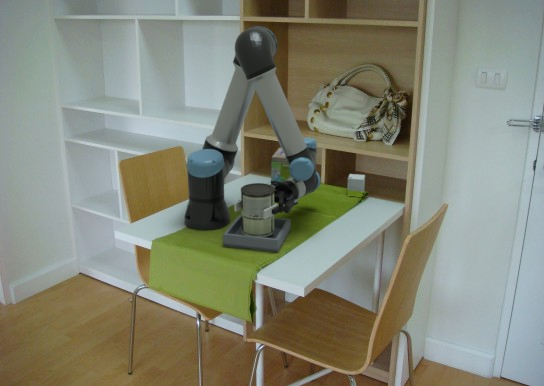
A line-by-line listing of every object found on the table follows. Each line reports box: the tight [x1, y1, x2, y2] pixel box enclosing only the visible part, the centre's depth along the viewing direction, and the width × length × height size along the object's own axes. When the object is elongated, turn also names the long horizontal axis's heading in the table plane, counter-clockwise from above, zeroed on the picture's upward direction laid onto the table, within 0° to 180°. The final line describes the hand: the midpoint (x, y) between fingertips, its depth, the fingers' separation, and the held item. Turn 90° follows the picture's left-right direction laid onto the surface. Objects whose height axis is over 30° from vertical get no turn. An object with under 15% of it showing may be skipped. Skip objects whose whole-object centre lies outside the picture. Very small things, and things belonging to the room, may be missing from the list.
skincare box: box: [346, 173, 366, 193], centre depth 214 cm, size 6×6×7 cm
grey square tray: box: [222, 213, 292, 253], centre depth 175 cm, size 17×17×4 cm
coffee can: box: [240, 182, 275, 237], centre depth 173 cm, size 10×10×14 cm
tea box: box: [270, 147, 292, 188], centre depth 219 cm, size 15×10×15 cm
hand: (249, 211), depth 169 cm, fingers open, 10 cm apart
